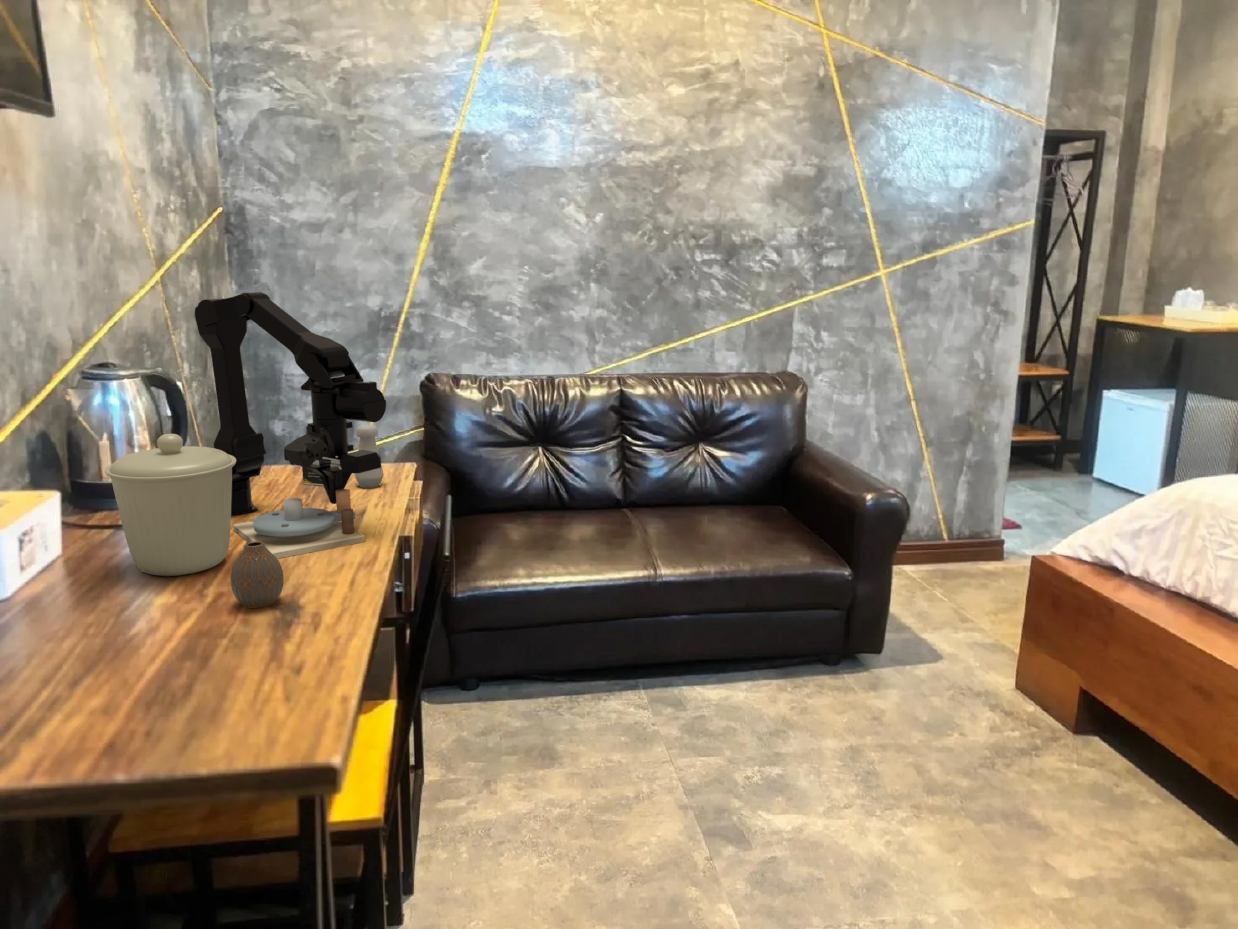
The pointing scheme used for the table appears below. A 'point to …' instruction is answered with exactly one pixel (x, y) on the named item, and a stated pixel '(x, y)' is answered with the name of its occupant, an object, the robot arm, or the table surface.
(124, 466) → the canister
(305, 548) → the board
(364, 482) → the salt shaker
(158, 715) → the table surface
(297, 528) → the flange plate
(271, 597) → the vase
